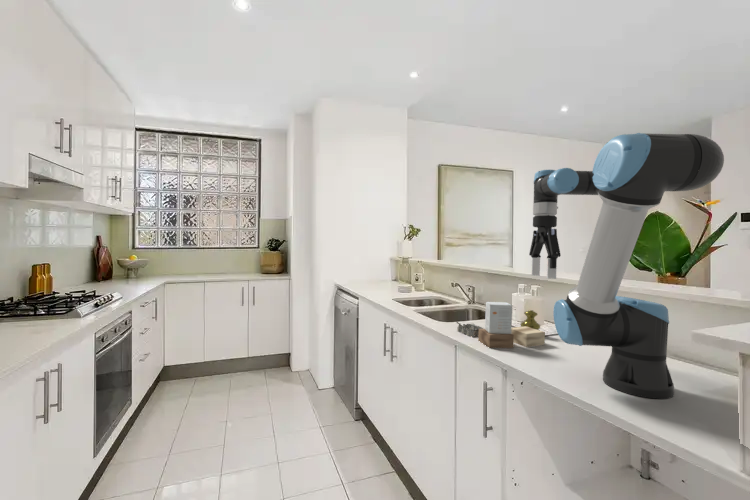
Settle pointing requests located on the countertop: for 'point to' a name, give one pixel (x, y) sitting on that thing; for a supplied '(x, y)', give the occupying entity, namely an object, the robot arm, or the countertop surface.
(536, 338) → the maple block
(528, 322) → the olive-gold lumpy piece
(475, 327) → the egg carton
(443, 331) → the countertop surface
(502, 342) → the walnut block
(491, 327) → the small box
